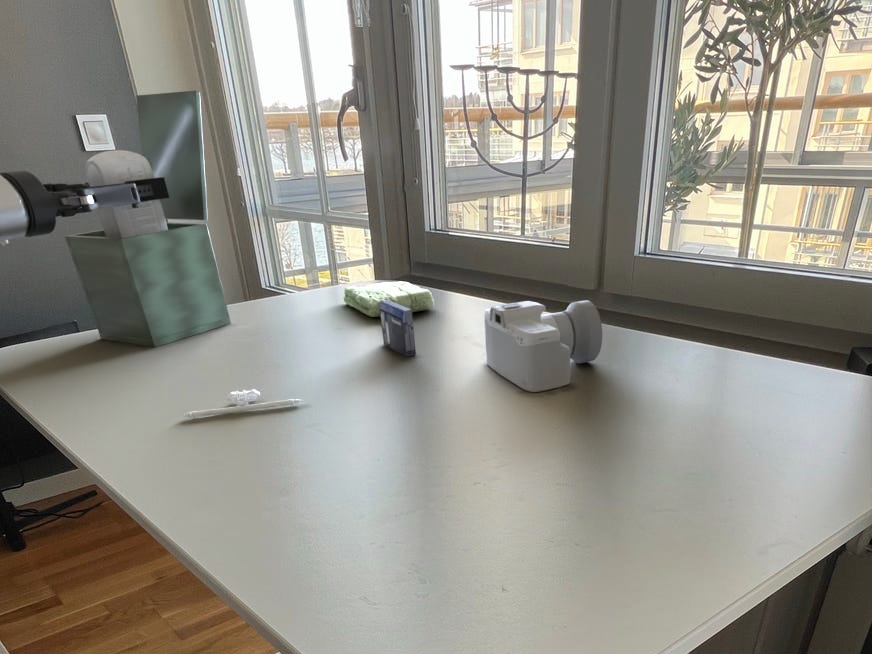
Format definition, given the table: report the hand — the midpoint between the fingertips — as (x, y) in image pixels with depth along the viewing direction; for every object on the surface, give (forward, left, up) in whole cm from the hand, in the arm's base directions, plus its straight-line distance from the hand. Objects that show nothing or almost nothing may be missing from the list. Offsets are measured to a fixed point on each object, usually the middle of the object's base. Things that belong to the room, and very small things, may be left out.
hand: (154, 187), depth 110 cm
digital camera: (+70, 0, -20) cm, 73 cm away
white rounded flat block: (0, -5, -7) cm, 9 cm away
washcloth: (+26, +23, -20) cm, 40 cm away
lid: (0, +4, +4) cm, 6 cm away
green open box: (0, -5, -20) cm, 21 cm away
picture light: (+42, -27, -20) cm, 54 cm away
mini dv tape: (+45, +1, -20) cm, 49 cm away
